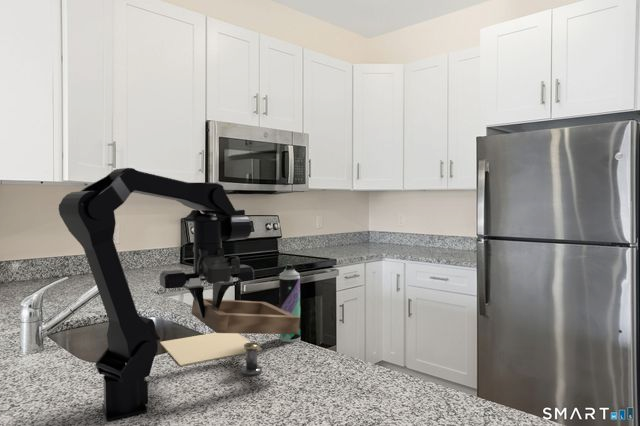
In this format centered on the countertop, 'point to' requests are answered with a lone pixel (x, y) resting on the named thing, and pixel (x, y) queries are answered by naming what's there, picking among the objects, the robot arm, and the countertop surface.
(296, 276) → the spray can
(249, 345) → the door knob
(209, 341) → the cork mat
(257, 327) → the walnut frame
